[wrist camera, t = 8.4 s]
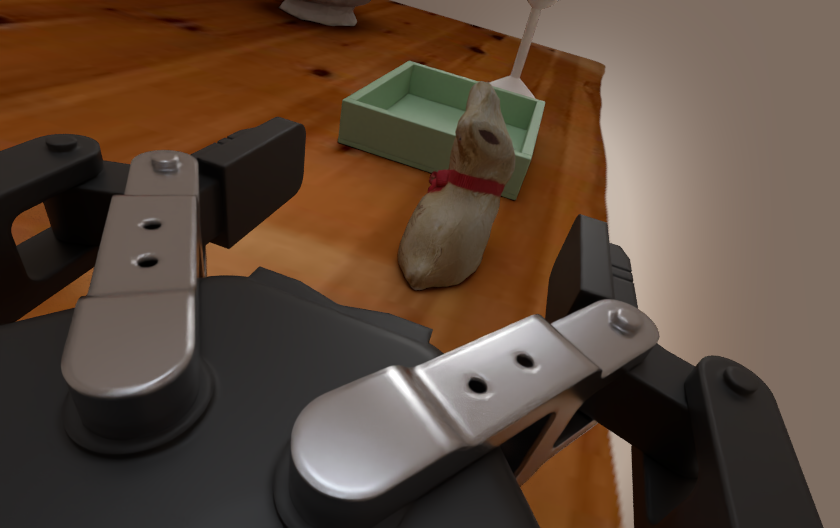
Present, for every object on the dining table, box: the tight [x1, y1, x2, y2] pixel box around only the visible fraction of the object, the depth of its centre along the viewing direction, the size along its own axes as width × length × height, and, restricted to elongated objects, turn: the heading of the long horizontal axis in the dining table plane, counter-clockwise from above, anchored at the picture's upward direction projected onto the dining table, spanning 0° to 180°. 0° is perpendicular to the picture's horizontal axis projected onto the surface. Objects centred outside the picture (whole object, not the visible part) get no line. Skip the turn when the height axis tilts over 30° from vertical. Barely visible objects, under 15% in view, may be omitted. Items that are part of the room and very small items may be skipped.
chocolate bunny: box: [398, 81, 515, 290], centre depth 24 cm, size 6×8×10 cm
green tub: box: [338, 61, 545, 200], centre depth 41 cm, size 17×15×3 cm
